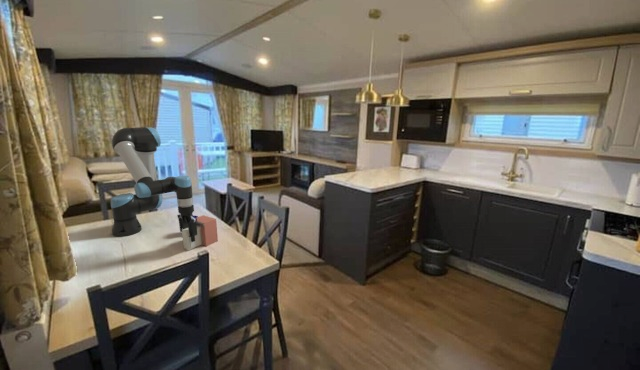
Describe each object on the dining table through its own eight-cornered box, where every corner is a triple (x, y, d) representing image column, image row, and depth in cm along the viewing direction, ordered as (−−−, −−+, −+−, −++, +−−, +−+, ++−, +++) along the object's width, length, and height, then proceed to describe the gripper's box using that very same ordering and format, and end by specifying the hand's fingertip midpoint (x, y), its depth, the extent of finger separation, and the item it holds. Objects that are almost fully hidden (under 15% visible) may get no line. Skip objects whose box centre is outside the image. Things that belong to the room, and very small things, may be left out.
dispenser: (192, 242, 161) (190, 219, 157) (205, 236, 168) (203, 215, 164) (205, 246, 155) (203, 223, 152) (217, 241, 162) (216, 218, 159)
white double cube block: (183, 248, 152) (181, 229, 150) (207, 238, 165) (205, 221, 162) (188, 250, 150) (186, 231, 148) (211, 240, 163) (210, 222, 160)
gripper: (169, 204, 148) (174, 244, 154) (189, 210, 140) (193, 252, 146) (182, 200, 155) (186, 239, 160) (202, 206, 146) (206, 246, 152)
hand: (190, 245), depth 153 cm, fingers closed on white double cube block, 4 cm apart
